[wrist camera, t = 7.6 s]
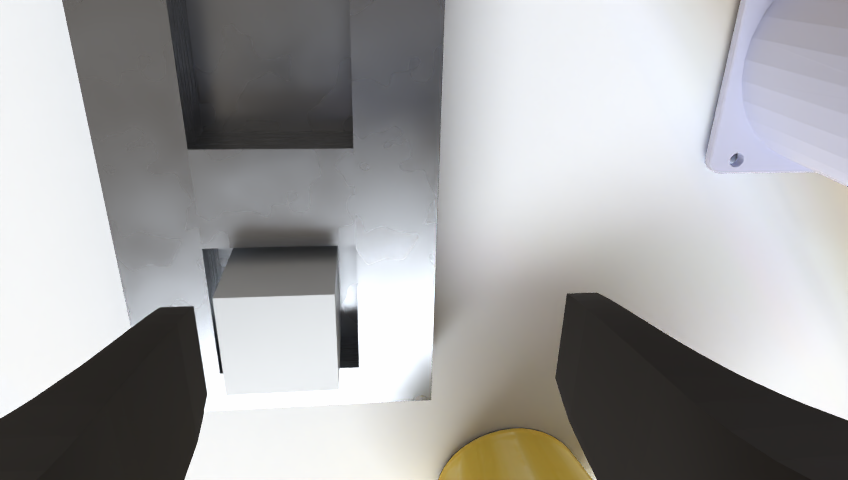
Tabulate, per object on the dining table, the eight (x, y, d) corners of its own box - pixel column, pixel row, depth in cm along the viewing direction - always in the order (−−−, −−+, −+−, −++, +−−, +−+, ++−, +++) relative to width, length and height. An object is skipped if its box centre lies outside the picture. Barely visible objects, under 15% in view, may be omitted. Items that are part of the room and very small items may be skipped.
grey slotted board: (446, -461, 15) (463, -535, 13) (423, 359, 25) (430, 399, 23) (5, -504, 14) (-63, -593, 11) (168, 370, 24) (149, 413, 22)
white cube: (337, 237, 22) (334, 294, 18) (341, 321, 23) (339, 389, 20) (236, 240, 21) (212, 298, 18) (246, 325, 23) (226, 395, 19)
